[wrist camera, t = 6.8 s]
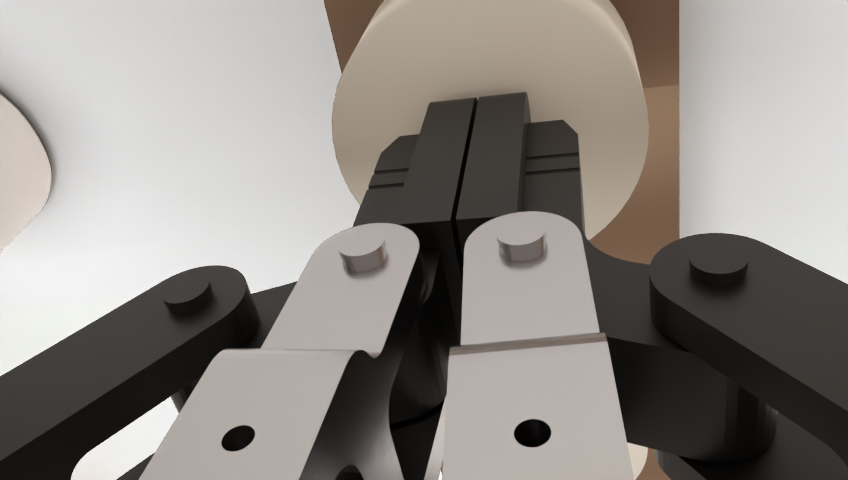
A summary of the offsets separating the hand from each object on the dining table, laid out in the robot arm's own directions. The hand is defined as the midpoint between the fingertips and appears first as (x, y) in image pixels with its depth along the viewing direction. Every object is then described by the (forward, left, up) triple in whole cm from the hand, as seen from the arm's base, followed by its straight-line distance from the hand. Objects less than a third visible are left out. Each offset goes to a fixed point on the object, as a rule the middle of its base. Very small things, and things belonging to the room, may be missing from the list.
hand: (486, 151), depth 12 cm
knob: (0, 0, -8) cm, 8 cm away
